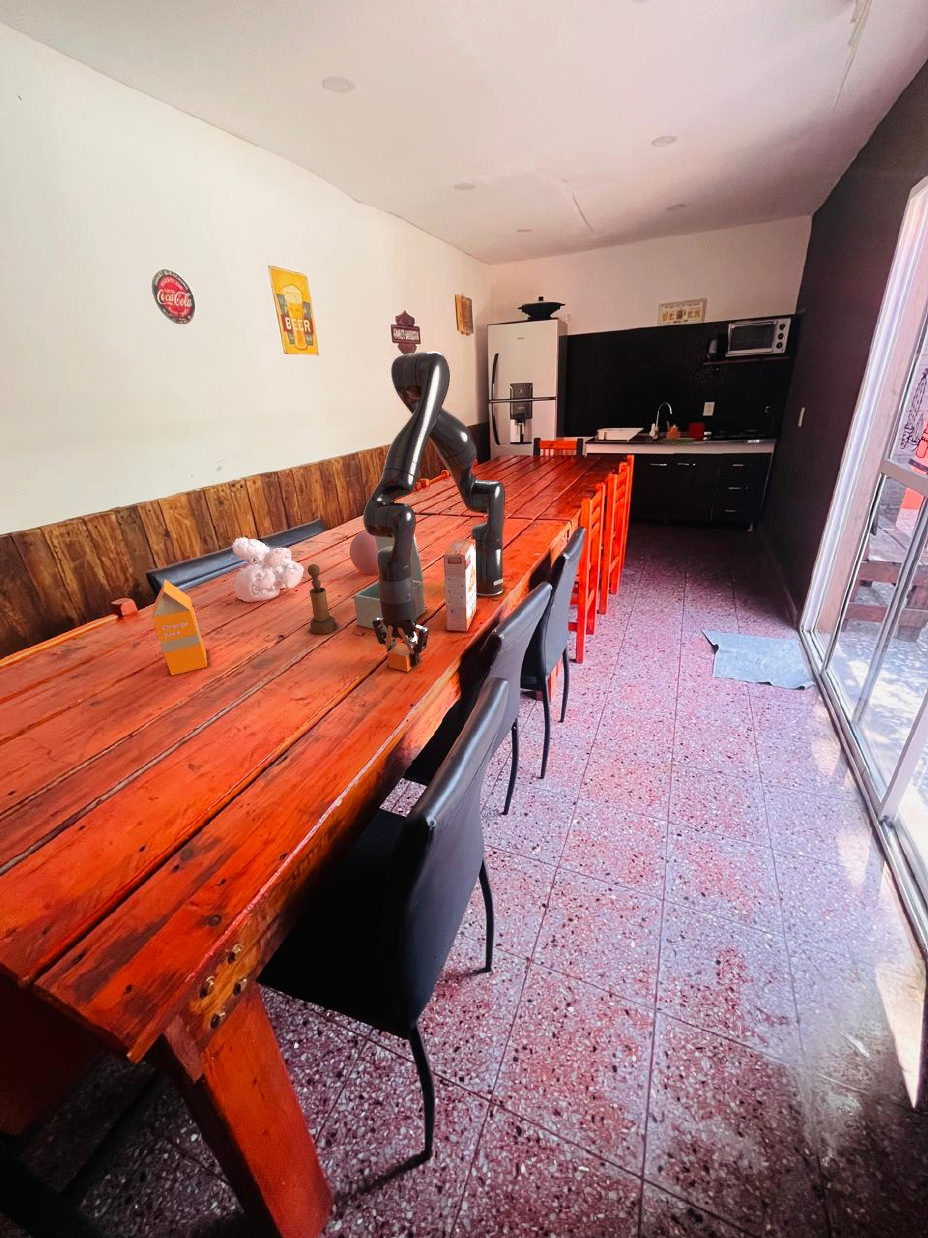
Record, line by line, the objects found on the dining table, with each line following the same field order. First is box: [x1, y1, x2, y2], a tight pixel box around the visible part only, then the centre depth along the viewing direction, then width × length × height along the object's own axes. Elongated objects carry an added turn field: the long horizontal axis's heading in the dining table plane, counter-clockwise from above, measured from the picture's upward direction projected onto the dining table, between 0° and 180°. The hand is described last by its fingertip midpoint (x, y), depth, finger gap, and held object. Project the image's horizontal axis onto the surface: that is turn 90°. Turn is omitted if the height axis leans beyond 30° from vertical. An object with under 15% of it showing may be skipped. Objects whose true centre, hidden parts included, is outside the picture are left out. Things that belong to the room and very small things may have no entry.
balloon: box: [349, 529, 378, 576], centre depth 167 cm, size 15×20×15 cm
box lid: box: [375, 533, 425, 583], centre depth 135 cm, size 16×13×5 cm
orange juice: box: [151, 578, 208, 676], centre depth 113 cm, size 8×9×20 cm
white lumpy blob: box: [231, 536, 305, 603], centre depth 154 cm, size 19×20×20 cm
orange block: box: [387, 642, 414, 673], centre depth 113 cm, size 5×5×4 cm
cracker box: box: [443, 538, 477, 633], centre depth 129 cm, size 14×6×21 cm, turn 168°
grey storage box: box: [353, 580, 426, 632], centre depth 134 cm, size 15×13×9 cm
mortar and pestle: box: [307, 563, 337, 635], centre depth 128 cm, size 7×6×18 cm
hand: (403, 662), depth 114 cm, fingers closed on orange block, 5 cm apart
